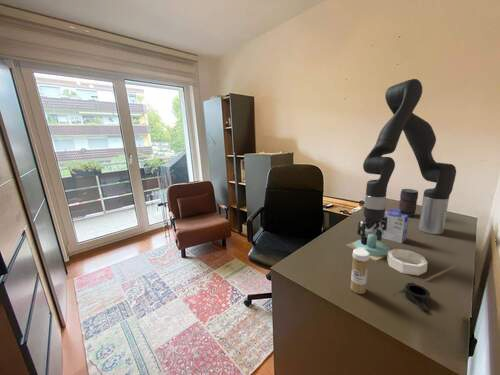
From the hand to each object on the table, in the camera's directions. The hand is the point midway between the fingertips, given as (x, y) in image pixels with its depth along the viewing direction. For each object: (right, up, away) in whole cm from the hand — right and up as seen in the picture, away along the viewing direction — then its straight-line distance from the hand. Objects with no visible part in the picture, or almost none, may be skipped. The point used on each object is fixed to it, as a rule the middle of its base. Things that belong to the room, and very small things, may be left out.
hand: (371, 242), depth 91 cm
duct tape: (-2, -10, -27) cm, 29 cm away
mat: (0, -3, +1) cm, 3 cm away
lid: (0, -3, +1) cm, 3 cm away
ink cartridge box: (+14, -1, +8) cm, 17 cm away
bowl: (+6, -6, -12) cm, 15 cm away
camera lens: (+41, +7, +35) cm, 54 cm away
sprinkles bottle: (-17, -10, -22) cm, 29 cm away
